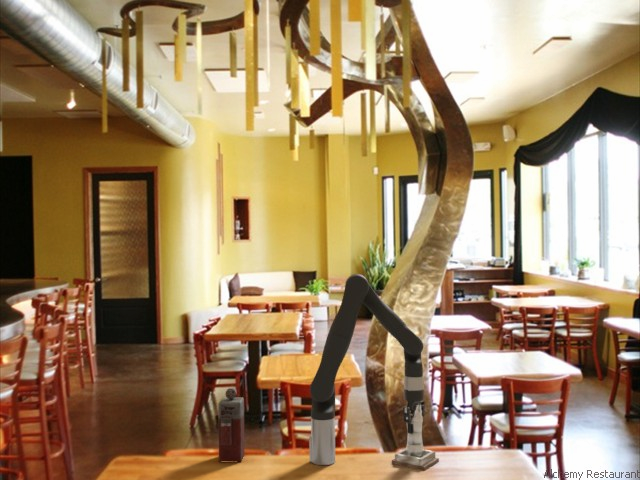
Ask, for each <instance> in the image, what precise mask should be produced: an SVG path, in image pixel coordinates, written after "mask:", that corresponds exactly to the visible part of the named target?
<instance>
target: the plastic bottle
mask: <svg viewBox="0 0 640 480" xmlns="http://www.w3.org/2000/svg"><path fill="white" fill-rule="evenodd" d="M415 406H418V409H419V404H418V405H415ZM410 415H413V414H410ZM411 418H412V417H411ZM406 419H407V417H406ZM423 420H424V417H422V415H421V413H420V412H419V410H417V412H416V417H415V418H414V421H413V433H412V434H410V433H408V431H407V433H406V434H407V439H406V447H405V448H406V451H407V454H408V455H409V456H413V457H419V456H422V454H423V452H424V444H423V434H422V433H423V432H422V431H423V422H424V421H423ZM406 425H407V423H406Z"/></svg>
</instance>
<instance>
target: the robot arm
mask: <svg viewBox="0 0 640 480" xmlns="http://www.w3.org/2000/svg"><path fill="white" fill-rule="evenodd" d="M362 305H364V306H365V307H366V308H367V309H368V310H369V311H370V312H371V313H372V315H373V316H374V317H375V318H376V320H377V321H378V322H379V324H381V326H382V327H383V328H384V329H385V330H386V331H387V332H388V333H389V334H390V335H391V336H392V337H393V338H395V340H396V341H397V343H398V344H399V345H400V346H401V347H402V348H403V356H404V357H403V358H404V381H403V395H404V397H403V398H404V400H405V401H406V402H407V403H406V407H405V406H403V408H402V413H403V423H407V424H406V431H407V432H408V433H410V434H412V433H413V421H414V418H415V417H416V412H417V410H419V412H420V413H421V415H422V417H423V418H424V417H425V413H426V412H425V411H426V402H425V401H424V399H425V390H424V389H425V387H424V386H425V384H424V367H423V366H424V365H423V361H422V352H423V350H424V343H423V341H422V339H421V338H420V337H419V336H417V334H415V333H414V332H413V331H412V330H411V329H410V328H409V327H408V325H407V324H406V323H405V321H404V320H402V318H401V317H400V316H399V315H398V314H397V312H395V311H394V310H393V309H392V308H391V307H390V306H389V305H387V304H386V302H385V301H383V300H382V298H381V297H380V296H379V294H377V293H376V292H375V290H374V289H373V288H372V286H371V284H370V282H369V281H368V279H367V278H366V276H364V275H362V274H360V273H354V274H351V275H350V276H348V278H347V279H346V281H345V285H344V291H343V295H342V298H341V303H340V306H339V309H338V310H337V313H336V314H335V316H334V319H333V320H332V322H331V325H330V327H329V331H328V332H327V333H328V334H327V336H326V339H325V342H324V347H323V350H322V354H321V359H320V362H319V366H318V368H317V371H316V374H315V375H314V377H313V379H312V381H311V383H310V386H309V394H310V397H311V408H310V409H311V410H310V421H311V422H310V425H311V427H310V431H311V432H310V433H311V435H310V436H309V438H308V439H309V440H308V444H309V445H308V447H309V449H308V450H309V462H311V463H312V464H314V465H317V466H329V465H334V464H335V462H336V424H335V423H336V422H335V421H336V420H335V418H336V417H335V412H336V385H335V382H336V378H337V375H338V371H339V368H340V366H341V364H342V363H343V361H344V358H345V357H346V355H347V353H348V350H349V347H350V344H351V342H352V339H353V335H354V332H355V329H356V323H357V319H358V315H359V312H360V309H361V307H362ZM418 404H419V409H418V406H415V405H418ZM410 414H413V415H410ZM406 417H407V419H406ZM411 417H412V418H411ZM408 433H407V434H408Z"/></svg>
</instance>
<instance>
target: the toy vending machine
mask: <svg viewBox="0 0 640 480" xmlns="http://www.w3.org/2000/svg"><path fill="white" fill-rule="evenodd" d="M237 394H238V392H237V389H236V388H234V387H228V388H227V389H226V391H225V397H222V398H221V399H220V400H219V402H218V403H217V405H218V406H217V410H218V412H217V413H218V417H217V418H218V462H219V461H242V462H243V460H244V458H243V457H245V399H244V397H243V396H242V397H241V396H240V397H239V396H238V397H237ZM242 459H243V460H242Z"/></svg>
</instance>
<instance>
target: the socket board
mask: <svg viewBox="0 0 640 480" xmlns="http://www.w3.org/2000/svg"><path fill="white" fill-rule="evenodd" d="M438 462H440V458H438V457H436V450H435V451H434V450H430V449H424V452H423V454H422V456H419V457H413V456H409V455H408V454H407V451H406V447H405V448H404V449H402V450H400V451H398V452H396V453H395V454H394V458H393V459H392V460H391V464H393V465H397V466H402V467H405V468H411V469H416V470H421V471H426V470H428V469H430V468H431V467H433V466H434V465H436V464H437V463H438Z"/></svg>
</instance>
